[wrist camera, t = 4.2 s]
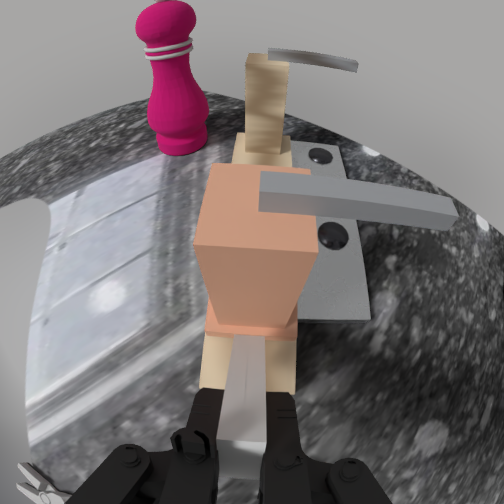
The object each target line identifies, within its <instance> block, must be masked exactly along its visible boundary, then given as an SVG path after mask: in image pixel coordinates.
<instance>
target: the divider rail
mask: <svg viewBox="0 0 504 504" xmlns="http://www.w3.org/2000/svg"><path fill="white" fill-rule="evenodd" d="M289 62H294V63H303V64H310V65H318V66H324V67H330V68H336V69H341V70H346V71H351V72H357V68H358V62H357V61H356V60H351V59H347V58H342V57H336V56H331V55H326V54H320V53H313V52H306V51H296V50H288V49H275V48H268V54H259V53H249V54H248V57H247V61H246V72H245V73H246V77H245V80H246V81H245V90H246V91H245V133H237V137H236V142H235V148H234V153H233V158H232V163H231V164H251V165H268V166H282V167H292V155H291V141H290V136H286V135H282V132H283V123H284V113H285V103H286V94H287V84H288V83H287V82H288V73H289ZM233 339H234V338H227V337H216V336H207V334H206V333H205V339H204V348H203V356H202V365H201V374H200V384H199V388H201V389H202V388H203V387H205V388H214V389H224V390H225V385H226V379H227V373H228V368H229V362H230V356H231V350H232V345H233ZM265 373H266V392H289V393H290V395H294V394H295V380H296V339H295V341H272V340H265Z"/></svg>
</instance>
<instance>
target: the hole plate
mask: <svg viewBox="0 0 504 504" xmlns="http://www.w3.org/2000/svg"><path fill="white" fill-rule="evenodd" d="M290 141H291V140H290ZM291 155H292V167H294V168H304V169H310V173H311V175H317V176H326V177H334V178H342V179H347V178H346V174H345V170H344V166H343V162H342V159H341V155H340V151H339V148H338V146H334V145H327V144H319V143H310V142H301V141H291ZM316 227H317V238H318V251H319V253H318V255H317V258H316V260H315V262H314V265H313V267H312V269H311V272H310V274H309V276H308V278H307V281H306V283H305V285H304V287H303V290H302V292H301V294H300V296H299V299H298V301H297V307H298V315H297V323H329V324H362V323H367V322H368V321H370V320H371V316H370V306H369V297H368V289H367V282H366V274H365V268H364V261H363V255H362V249H361V243H360V238H359V232H358V227H357V222H356V220H354V219H344V218H334V217H323V216H316Z"/></svg>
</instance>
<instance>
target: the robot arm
mask: <svg viewBox="0 0 504 504" xmlns="http://www.w3.org/2000/svg"><path fill="white" fill-rule="evenodd" d="M170 439H171V443H172V446H173V449H171V450H169V451H163V452H147V451H146V450H145V449H143V448H142V447H141V446H138V445H135V444H124V445H121V446H119V447H117V448H116V449H114V450H113V452H112V453H111V454H110V455H109V456H108V457H107V458H106V459H105V460H104V461H103V463H102V464H101V465H100V466H99V467H98V468H97V469H96V470H95V471H94V472H93V473H92V475H91V476H90V477H89V478H88V479H87V480H86V481H85V482H84V483H83V484H82V485H81V486H80V487H79V488H78V489H77V491H76V492H75V493H74V494H73V495H72V496H71V497H70V498H69V499H68V500H67V501H66V502H65V503H64V504H216V501H217V494H218V477H227V478H239V479H260V488H259V493H258V498H257V499H259V501H258V504H392V502H391V501H390V500H389V498H388V497H387V495H386V494H385V492H384V491H383V489H382V488H381V486H380V485H379V483H378V482H377V480H376V479H375V477H374V476H373V474H372V473H371V471H370V470H369V468H368V467H367V466H366V465H365V464H364V463H363V462H362V461H360V460H358V459H354V458H345V459H341V460H339V461H337V462H335V463H334V464H331V463H324V462H319V461H315V460H313V459H311V458H309V457H308V456H307V455H305V454H304V452H303V451H302V448H301V444H300V437H299V429H298V422H297V414H296V407H295V400H294V399H293V397H292V396H291V395H290V393H289V392H266V373H265V336H251V335H236V334H234V339H233V345H232V350H231V356H230V362H229V368H228V373H227V379H226V385H225V390H224V389H214V388H205V387H203V388H202V389H201V390H200V391H199V392H198V393H197V394H196V395H195V398H194V402H193V405H192V409H191V413H190V415H189V419H188V422H187V426H186V427H185V428H181V429H179V430H177V431H176V432H174V433H173V435H172V436H171V438H170Z"/></svg>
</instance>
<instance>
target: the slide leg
mask: <svg viewBox="0 0 504 504" xmlns="http://www.w3.org/2000/svg"><path fill="white" fill-rule="evenodd" d="M316 216H323V217H334V218H344V219H354V220H364V221H373V222H382V223H390V224H399V225H407V226H414V227H422V228H429V229H436V230H443V231H448V229H449V228H450V227H451V226H452V225H453V223H454V222H455V221H456V220H457V218H458V217H459V216H458V213H457V211H456V209H455V206H454V204H453V202H452V200H451V198H449V197H445V196H440V195H436V194H431V193H426V192H421V191H416V190H411V189H406V188H401V187H395V186H389V185H383V184H377V183H371V182H364V181H357V180H350V179H342V178H334V177H326V176H317V175H311V173H310V169H304V168H294V167H282V166H268V165H251V164H226V163H212V166H211V170H210V174H209V178H208V182H207V186H206V190H205V194H204V198H203V202H202V206H201V211H200V215H199V219H198V224H197V228H196V233H195V238H194V242H193V246H194V250H195V253H196V256H197V260H198V263H199V266H200V269H201V273H202V276H203V279H204V282H205V285H206V288H207V292H208V295H209V301H208V308H207V316H206V323H205V333H206V334H207V336H216V337H227V338H234V334H236V335H251V336H265V340H272V341H295V339H296V338H297V315H298V307H297V301H298V299H299V296H300V294H301V292H302V290H303V287H304V285H305V283H306V281H307V278H308V276H309V274H310V272H311V269H312V267H313V265H314V262H315V260H316V258H317V255H318V253H319V251H318V238H317V227H316Z"/></svg>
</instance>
